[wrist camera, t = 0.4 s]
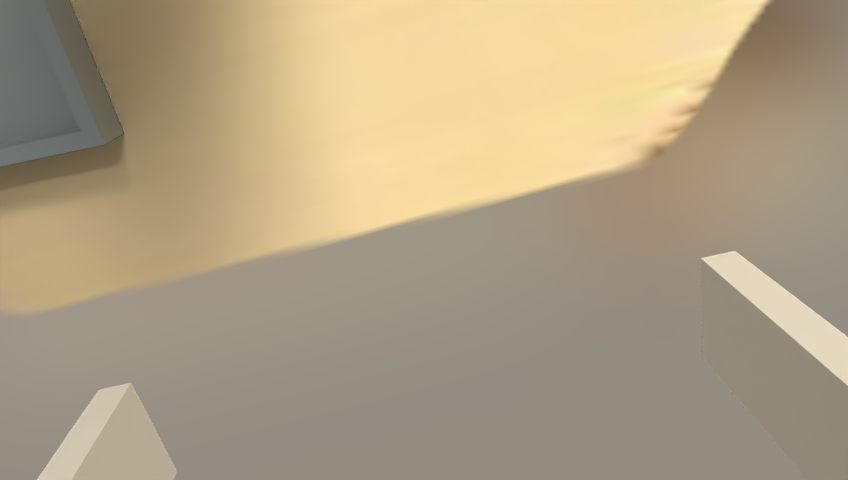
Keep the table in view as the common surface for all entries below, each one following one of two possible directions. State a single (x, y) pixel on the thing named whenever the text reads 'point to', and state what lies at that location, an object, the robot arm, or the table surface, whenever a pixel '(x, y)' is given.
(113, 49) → the table surface
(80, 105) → the slate tray
